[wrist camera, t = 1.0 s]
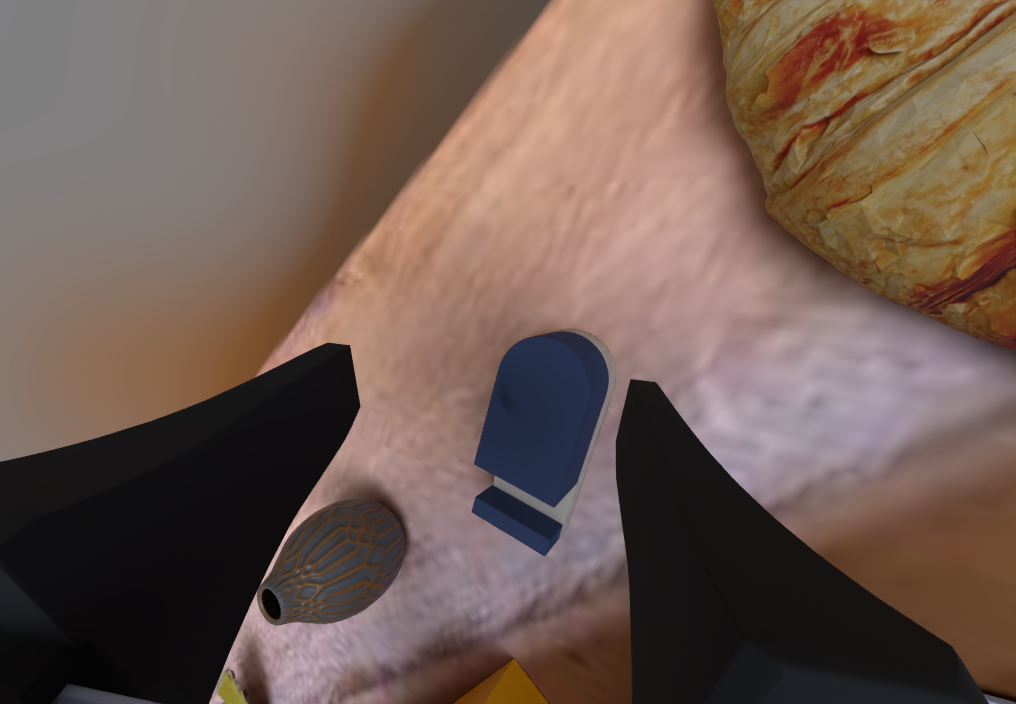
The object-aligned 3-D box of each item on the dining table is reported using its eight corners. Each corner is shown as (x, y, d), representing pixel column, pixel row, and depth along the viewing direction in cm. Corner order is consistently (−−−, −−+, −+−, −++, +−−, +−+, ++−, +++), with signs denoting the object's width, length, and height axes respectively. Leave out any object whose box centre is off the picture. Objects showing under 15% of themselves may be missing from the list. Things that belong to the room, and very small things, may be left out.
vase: (389, 594, 33) (279, 685, 25) (337, 519, 35) (220, 583, 27) (437, 545, 30) (329, 632, 22) (377, 466, 32) (258, 521, 24)
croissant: (682, 67, 23) (578, 71, 18) (889, -241, 15) (791, -367, 10) (1032, 414, 18) (1004, 534, 13) (1634, 242, 10) (2066, 404, 5)
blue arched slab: (566, 529, 25) (534, 570, 22) (498, 490, 27) (458, 522, 24) (628, 346, 22) (602, 357, 19) (547, 317, 24) (509, 322, 21)
